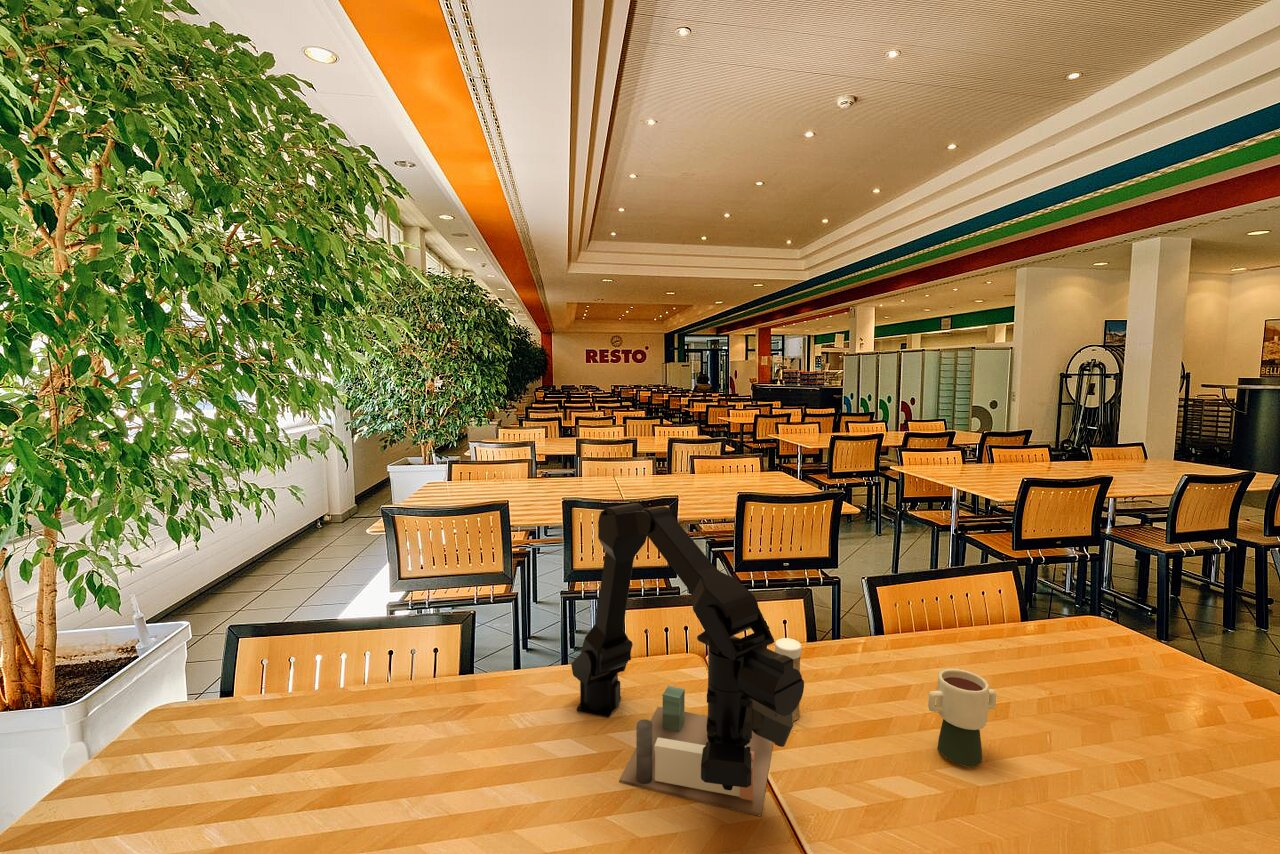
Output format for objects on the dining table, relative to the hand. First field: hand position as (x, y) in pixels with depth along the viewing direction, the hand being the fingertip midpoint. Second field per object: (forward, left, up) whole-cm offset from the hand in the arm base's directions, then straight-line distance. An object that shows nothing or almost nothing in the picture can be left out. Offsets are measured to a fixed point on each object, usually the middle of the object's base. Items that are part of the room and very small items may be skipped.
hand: (728, 788), depth 80 cm
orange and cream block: (-4, +3, -3) cm, 6 cm away
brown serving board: (-6, +11, -4) cm, 13 cm away
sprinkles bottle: (+6, +26, -4) cm, 27 cm away
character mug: (+33, +23, -4) cm, 41 cm away
